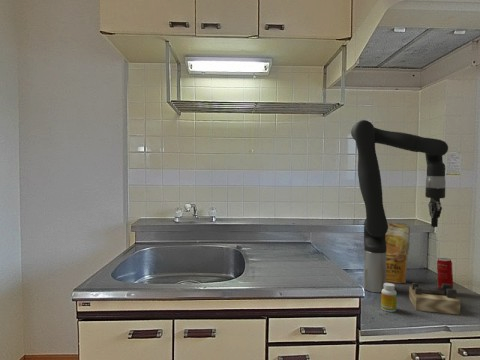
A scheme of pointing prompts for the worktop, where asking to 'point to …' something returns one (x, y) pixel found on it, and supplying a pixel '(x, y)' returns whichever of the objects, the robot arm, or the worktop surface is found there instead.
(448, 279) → the beverage can
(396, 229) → the pancake mix bag
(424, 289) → the bar
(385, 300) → the supplement bottle
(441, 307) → the oak box
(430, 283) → the worktop surface
